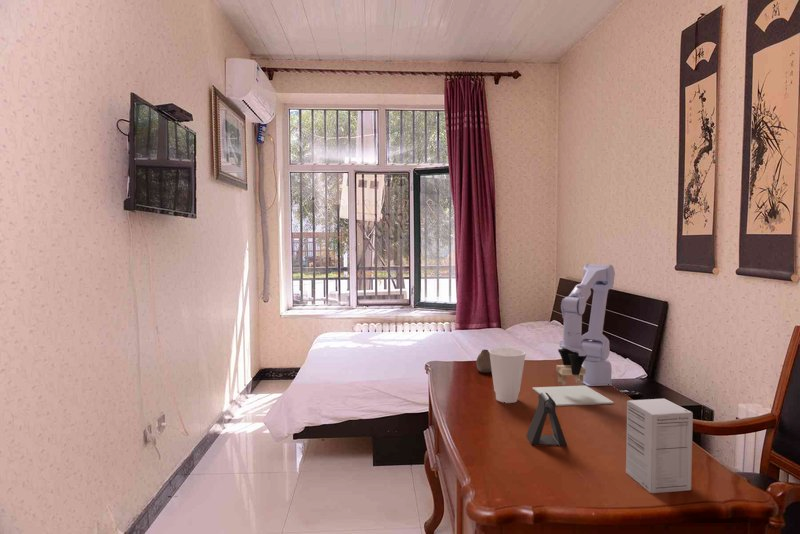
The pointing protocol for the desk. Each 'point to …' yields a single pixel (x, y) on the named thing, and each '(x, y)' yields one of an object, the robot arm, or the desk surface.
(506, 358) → the cup
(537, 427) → the phone stand
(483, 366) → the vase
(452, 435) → the desk surface
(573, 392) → the mat
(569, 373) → the tan plank with pegs
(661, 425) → the supplement box
